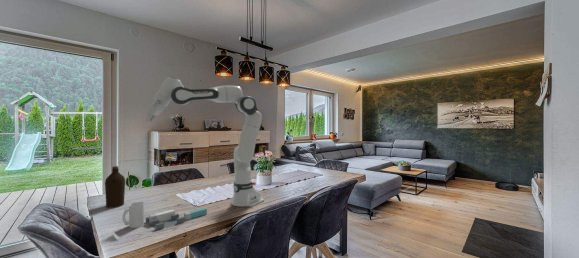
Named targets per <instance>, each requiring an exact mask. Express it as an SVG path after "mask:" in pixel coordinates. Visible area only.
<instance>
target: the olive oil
mask: <svg viewBox="0 0 579 258" xmlns="http://www.w3.org/2000/svg"><path fill="white" fill-rule="evenodd" d="M111 169H112V170H111V173H110V174H109V175H108V176H107V177H106V178H105V180H104V181H105V182H104V187H105V188H104V191H105V192H104V193H105V207H106V208H107V209H108V208H110V209H111V208H119V207H121V206H124V205H125V190H126V178H125V176H124V175H122V174H121V173H120V172H119V166H118V165H114V166H112V167H111Z"/></svg>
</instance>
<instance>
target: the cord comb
mask: <svg viewBox="0 0 579 258" xmlns="http://www.w3.org/2000/svg"><path fill="white" fill-rule="evenodd" d="M185 222H186V219H185V217H184V216H181V217H180V214H179V213H175V214H174V215H171V219H170V220H166V221H162V222H159V219H155V220H152V221H150V223H149V216H146V217H145V223H146V224H147V225H148V226H150V227H152V228H153V229H154V230H156V231H159V230H162V229H165V228H169V227H173V226H176V225H178V224H182V223H185Z"/></svg>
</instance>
